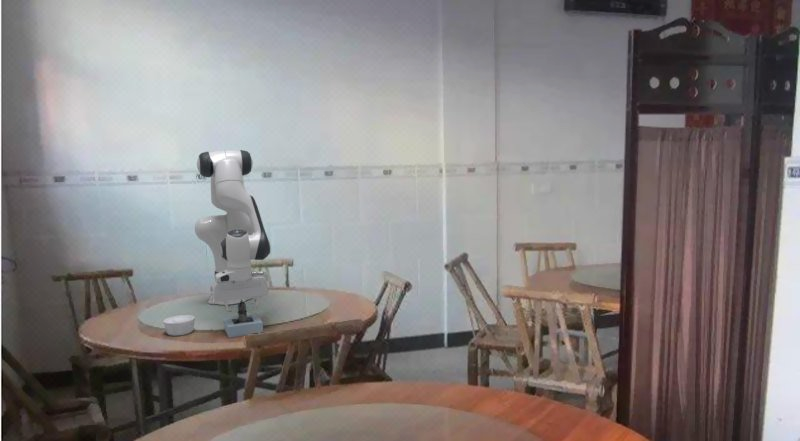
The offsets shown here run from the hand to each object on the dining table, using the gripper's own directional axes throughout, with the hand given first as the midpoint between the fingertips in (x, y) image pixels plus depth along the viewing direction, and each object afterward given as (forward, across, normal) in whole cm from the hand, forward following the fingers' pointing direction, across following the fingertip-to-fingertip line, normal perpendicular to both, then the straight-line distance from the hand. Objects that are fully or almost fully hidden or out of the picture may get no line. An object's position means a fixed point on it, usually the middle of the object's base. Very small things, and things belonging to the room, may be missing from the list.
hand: (242, 309), depth 234 cm
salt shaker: (+8, 0, 0) cm, 8 cm away
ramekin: (+8, +22, -10) cm, 25 cm away
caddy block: (+8, 0, 0) cm, 8 cm away
